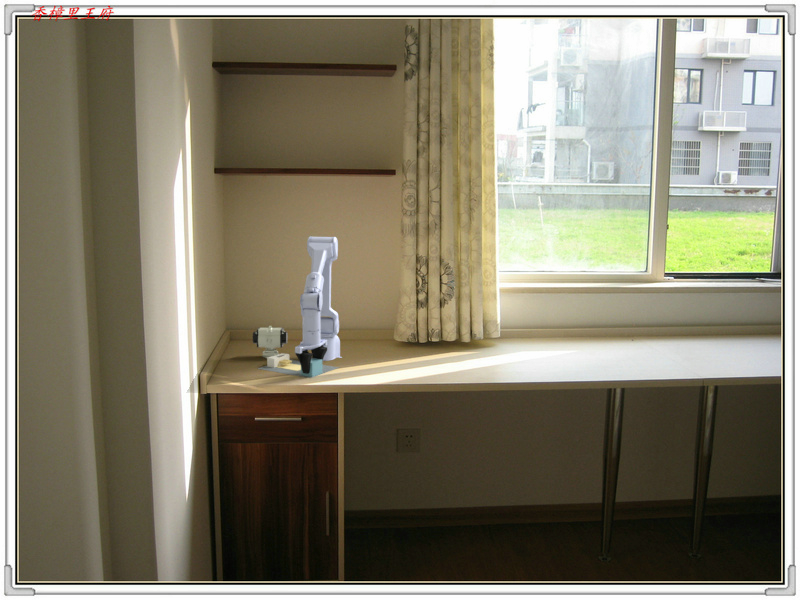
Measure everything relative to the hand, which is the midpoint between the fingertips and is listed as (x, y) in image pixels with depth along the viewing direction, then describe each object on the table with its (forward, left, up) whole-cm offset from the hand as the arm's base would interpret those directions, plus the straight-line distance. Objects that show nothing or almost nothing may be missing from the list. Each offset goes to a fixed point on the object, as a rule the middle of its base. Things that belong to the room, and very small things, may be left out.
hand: (311, 371), depth 224 cm
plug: (0, 0, -1) cm, 1 cm away
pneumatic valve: (-11, -26, -2) cm, 29 cm away
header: (-4, -16, -1) cm, 16 cm away
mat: (-4, -8, -2) cm, 10 cm away
